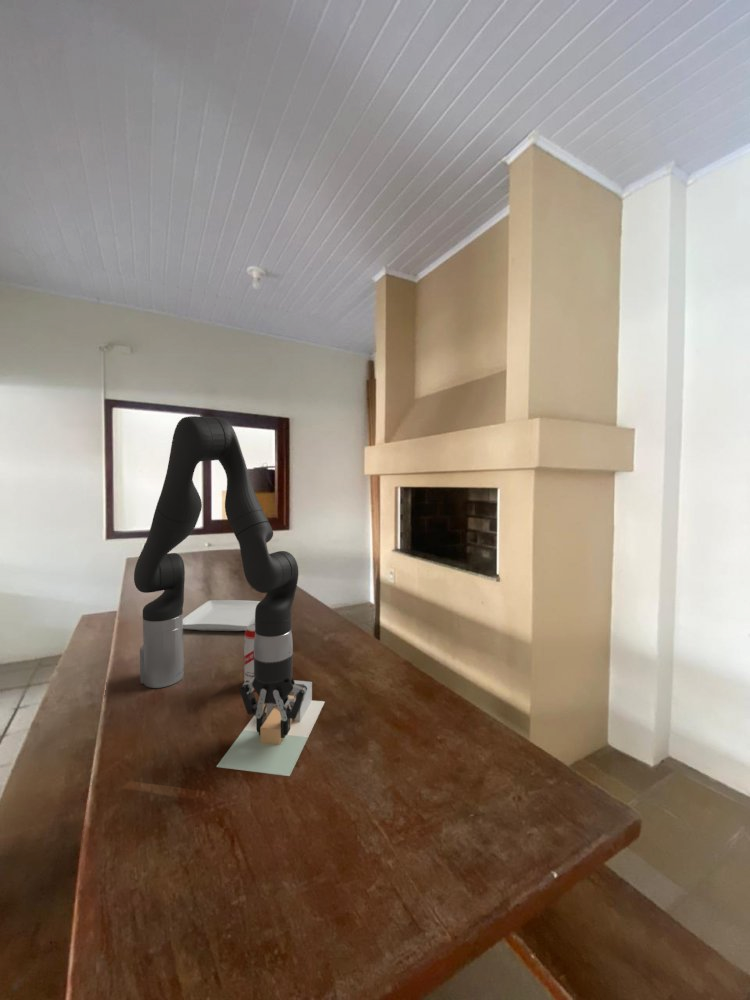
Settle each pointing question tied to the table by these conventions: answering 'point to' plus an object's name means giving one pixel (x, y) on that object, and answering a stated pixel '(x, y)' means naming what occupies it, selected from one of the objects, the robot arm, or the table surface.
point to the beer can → (249, 653)
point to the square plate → (222, 616)
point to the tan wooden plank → (273, 727)
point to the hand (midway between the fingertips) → (273, 733)
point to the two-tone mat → (269, 756)
